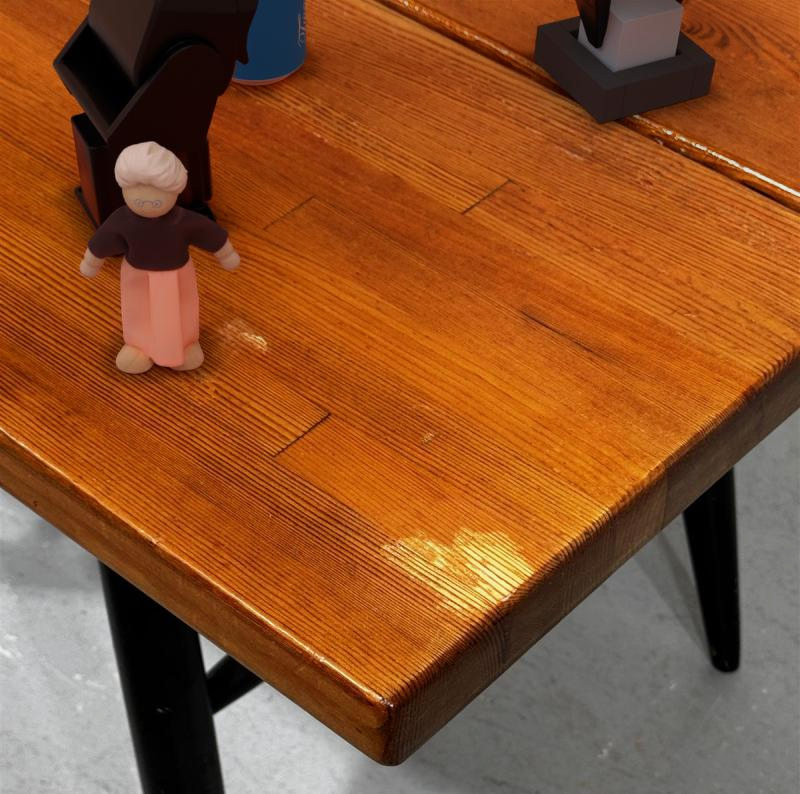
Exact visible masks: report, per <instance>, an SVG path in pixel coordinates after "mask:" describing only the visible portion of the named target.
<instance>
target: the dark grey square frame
mask: <svg viewBox="0 0 800 794" xmlns="http://www.w3.org/2000/svg"><path fill="white" fill-rule="evenodd" d="M580 21H581V17H580V15H577V16H573V17H568V18H564V19H560V20H557V21H551V22H547V23H544V24H543V23H542V24H539V25H537V26H536V32H535V33H536V34H535V44H534V51H533V61H534V62H535V63H536V64H537V65H538V66H539V67H540V68H542V70H543V71H544V72H546V73H547V74H548V76H550V77H551V78H552V79H553V80H554V81H555V82H556V83H557V84H558V85H559V86H560V87H561V88H562V89H564V91H565V92H567V94H569V95H570V96H571V98H573V99H574V100H575V102H577V104H579V105H580V106H581V107H582V108H583V109H584V110H585V111H586V112H587V113H588V114H589V115H590V116H592V117H593V118H594V119H595V120H596V121H597V123H598V124H605V123H608V122H613V121H616V120H619V119H624V118H627V117H631V116H635V115H638V114H643V113H645V112H646V113H647V112H649V111H653V110H657V109H660V108H665V107H668V106H672V105H675V104H678V103H682V102H686V101H689V100H693V99H696V98H701V97H704V96H707V95H710V91H711V85H712V81H713V75H714V71H715V68H716V67H715V66H716V63H717V62H716V58H714V57H713V56H712V55H710V54H709V53H708V52H707V51H706V50H705V49H703V48H702V47H701V46H700V45H699V44H698V43H696V42H695V41H694V40H692V39H691V38H690V37H689V36H688V35H687V34H685V33H684V32H683V31H681V30H680V32H679V37H678V42H677V48H676V53H675V56H674V57H670V58H666V59H662V60H659V61H655V62H651V63H647V64H643V65H639V66H636V67H632V68H628V69H624V70H620V71H616V72H614V73H613V72H612V71H611V70H610V69H608V68H607V67H606V66H605V65H604V64H603V63H602V62H601V61H600V60H599V59H597V58H596V57H595V56H594V55H593V54H592V53H591V52H590V51H589V50H588V49H586V48H585V47H584V46H583V45H582V44H581V43H580V42H579V41H578V36H579V29H580Z"/></svg>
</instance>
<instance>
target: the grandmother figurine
mask: <svg viewBox="0 0 800 794" xmlns="http://www.w3.org/2000/svg"><path fill="white" fill-rule="evenodd" d="M187 173H188V171H187V170H186V169H185V168H184V166H183V164H182V163H181V161H180V160H179V159H178V158H177V157H176V156H175V155H174V154H173V153H172V152H171V151H169V150H167V149H165V148H164V147H161V146H160V145H158V144H157V143H156V142H146V143H140V144H137V145H132V146H129V147H127V148H125V149H124V150H123V151H122V153H121V154H120V156H119V157H118V159H117V162H116V166H115V177H116V181H117V182H118V184H119V186H120V187H122V191H123V196H124V199H125V202H126V203H127V205H124V206H122V207H120V208H118V209H116V210H115V211H114V212H113V213H112V214H111V215H110V216H109V217H108V219H107V220H106V221H105V222H104V223H103V224H102V225H101V226H100V227H99V229H98V230H97V231H96V232H95V231H94V234H93V235H92V236H91V237H90V238H89V239H88V243H87V248H86V250H85V252H84V254H83V255H84V257H83V259H82V260H81V262H80V263H79V272H80V273H81V275H82V276H83V277H85V278H88V279H94V278H96V277H98V276H99V275H100V273H101V271H102V266H103V265H104V264H105V262H106V259H107V258H109V257H111V256H117V255H116V254H120V255H122V254H121V253H123V258H122V261H121V264H120V274H119V275H120V279H119V281H120V285H119V287H120V288H119V289H120V306H121V307H120V308H121V324H122V334H123V335H122V336H123V341H124V345H123V346H122V348H121V349H120V350H119V352H118V354H117V355H116V358H115V365H116V367H117V368H118V370H119V371H121V372H123V373H127V374H137V375H138V374H142V373H145V372H147V371H149V370H150V369H151V368H152V367H153V366H154V364H156V365H158V366H159V367H166V368H170V369H172V370H173V371H179V372H180V371H181V372H182V371H192V370H195V369H198V368H200V366H202V365H203V363H204V362H205V355H204V352H203V349H202V347H201V345H200V341H199V339H200V300H199V299H200V298H199V297H200V296H199V290H198V281H197V275H196V274H197V273H196V268H195V264H194V261H193V258H192V256H191V253H190V252H189V247H190V246H193V247H195V248H197V249H200V250H202V251H204V252H207V253H210V254H212V255H213V256H214V257H215V258H216V259H218V263H219V265H220V267H221V268H222V269H223V270H224V271H225V270H226V271H227V272H232V271H236V270H237V269H238V268H239V267H240V265H241V257H240V254H239V253H238V252H237V251H236V250H234V247H233V244H232V243H231V241H230V239H229V231H228V230H227V229H226V228H224V227H223V226H221V225H220V224H218V223H217V224H216V223H215V222H213V221H212V220H210V219H209V218H207V217H205V216H204V215H201V214H199V213H196V212H193V211H190V210H187V209H184V208H182V207H180V206H178V205H175V202H176V200H177V197H178V194H179V193H181V192H182V190H183V189H184V188H185V186H186V183H187Z"/></svg>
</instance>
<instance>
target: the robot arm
mask: <svg viewBox="0 0 800 794" xmlns="http://www.w3.org/2000/svg"><path fill="white" fill-rule="evenodd" d="M676 1H677V2H678V3H679V4H681V5H682V3H683V2H684V0H676ZM574 2H575V4H576V7H577V11H578V14H579V16H580V17H581V20H582V24H583V27H584V30H585V33H586V36H587V39H588V42H589V43H590V44H591V45H592V46H593V47H594V48H596V49H598V48H601V47H602V45H603V41H604V38H605V34H606V30H607V26H608V19H609V12H610V6H611V0H574ZM257 7H258V0H90V1H89V4H88V9H87V10H88V12H87V14H86V15H85V17H84V19H82V21H81V23H80V24H79V25H78V26H77V28H76V29H75V30H74V32H73V33H72V34H71V36H70V37H69V39H68V40H67V42H66V43H65V44H64V46H62V48H61V49H60V51H59V52H58V54H57V55H56V56H55V58H54V59H53V61H52V64H51V65H52V68H53V69H54V71H55V72H56V74H57V76H58V77H59V79H60V81H61V82H62V85H63V86H64V88H65V89H66V90H67V92H68V93H69V95H70V96H72V97H73V98H74V99H75V100H76V102H77V104H78V105H79V106H80V108H81V110H82V111H83V112H82V113H78V114H74V115H72V116H71V117H70V124H71V130H72V135H73V136H72V137H73V142H74V143H73V144H74V150H75V155H76V160H77V162H76V163H77V169H78V174H79V175H78V176H79V183H80V184H79V185H78V186H76V187H75V188H74V189H73V193H74V198H75V200H76V202H77V204H78V206H79V207H80V209H81V210H82V212H83V214H84V216H85V217H86V219H87V221H88V223H89V224H90V226H91V228H92V229H93V231H94V233H95V232H96V231H97V230H98V229H99V227H100V226H101V225H102V224H103V223H104V222H105V221H106V220H107V219H108V217H109V216H110V215H111V214H112V213H113V212H114V211H115V210H116V209H118V208H120V207H122V206H124V205H127V203H126V202H125V199H124V196H123V191H122V187H120V186H119V184H118V182H117V181H116V177H115V166H116V162H117V159H118V157H119V156H120V154H121V153H122V151H123V150H124V149H125V148H127V147H129V146H132V145H137V144H140V143H146V142H156V143H157V144H158V145H160V146H161V147H164V148H165V149H167V150H169V151H171V152H172V153H173V154H174V155H175V156H176V157H177V158H178V159H179V160H180V161H181V163H182V164H183V166H184V168H185V169H186V170H187V171H188V173H187V183H186V186H185V188H184V189H183V190H182V192H181V193H179V194H178V197H177V200H176V202H175V205H178V206H180V207H182V208H184V209H187V210H190V211H193V212H196V213H199V214H201V215H204V216H205V217H207V218H209V219H210V220H212V221H213V222H215V223H216V224H218V221H217V219H218V218H217V216H216V214H215V213H214V211H213V210H212V208H211V207H210V205H209V204H208V203H207V202H209V201H211V200H212V199H213V197H214V190H213V177H212V165H211V152H210V140H209V138H208V133H209V130H210V127H211V123H212V120H213V116H214V113H215V109H216V106H217V103H218V99H219V98H220V97H222V96H223V95H225V93H226V92H227V90H228V88H229V87H230V86H231V83H232V82H233V81H232V78H233V75H234V72H235V70H236V63H237V60H238V61H239V62H240V63H242V64H243V65H246V64H248V62H249V59H248V53H247V38H248V32H249V29H250V26H251V23H252V20H253V18H254V15H255V12H256V10H257ZM120 255H124V253H121V254H116V255H115V256H120Z"/></svg>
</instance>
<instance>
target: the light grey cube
mask: <svg viewBox="0 0 800 794" xmlns="http://www.w3.org/2000/svg"><path fill="white" fill-rule="evenodd" d="M684 10H685V7H684V6H683V5H682V3H681V4H679V3H678V2H677V1H676V0H611V6H610V12H609V19H608V26H607V30H606V34H605V38H604V41H603V45H602V47H601V48H598V49H596V48H594V47H593V46H592V45H591V44H590V43H589V42H588V39H587V36H586V33H585V30H584V27H583V24H582V20H581V21H580V29H579V36H578V41H579V42H580V43H581V44H582V45H583V46H584V47H585V48H586V49H588V50H589V51H590V52H591V53H592V54H593V55H594V56H595V57H596V58H597V59H599V60H600V61H601V62H602V63H603V64H604V65H605V66H606V67H607V68H608V69H610V70H611V71H612V72H613V73H614V72H616V71H620V70H624V69H628V68H632V67H636V66H639V65H643V64H647V63H651V62H655V61H659V60H662V59H666V58H670V57H674V56H675V53H676V48H677V42H678V37H679V32H680V31H681V26H682V20H683V15H684Z"/></svg>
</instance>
